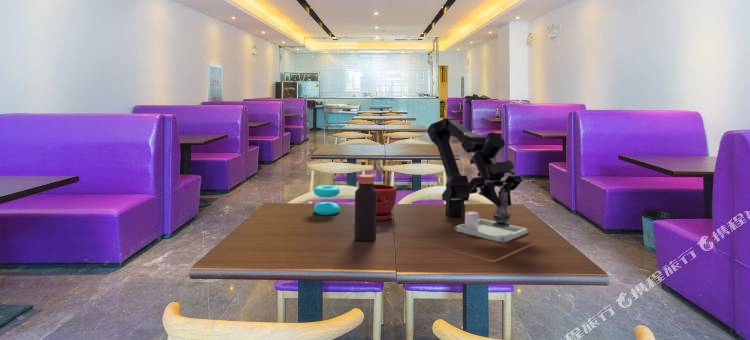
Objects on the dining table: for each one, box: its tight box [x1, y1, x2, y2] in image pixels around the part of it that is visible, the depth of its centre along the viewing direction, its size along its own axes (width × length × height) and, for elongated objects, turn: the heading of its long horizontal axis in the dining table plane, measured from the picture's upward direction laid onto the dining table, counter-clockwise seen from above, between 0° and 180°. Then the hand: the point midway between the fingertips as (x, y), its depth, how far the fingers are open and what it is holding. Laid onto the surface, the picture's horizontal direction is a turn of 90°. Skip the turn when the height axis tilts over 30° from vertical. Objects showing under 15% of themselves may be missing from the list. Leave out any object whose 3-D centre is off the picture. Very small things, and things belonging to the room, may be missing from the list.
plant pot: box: [373, 183, 397, 222], centre depth 168 cm, size 13×13×12 cm
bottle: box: [354, 174, 377, 243], centre depth 141 cm, size 7×7×20 cm
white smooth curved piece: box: [464, 211, 480, 231], centre depth 151 cm, size 4×4×6 cm
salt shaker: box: [491, 189, 512, 227], centre depth 146 cm, size 6×6×12 cm
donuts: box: [313, 184, 341, 216], centre depth 175 cm, size 10×10×10 cm
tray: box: [453, 218, 529, 244], centre depth 151 cm, size 18×16×2 cm
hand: (505, 205), depth 145 cm, fingers closed on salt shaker, 4 cm apart
